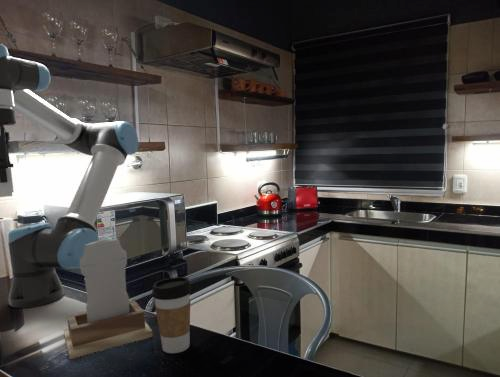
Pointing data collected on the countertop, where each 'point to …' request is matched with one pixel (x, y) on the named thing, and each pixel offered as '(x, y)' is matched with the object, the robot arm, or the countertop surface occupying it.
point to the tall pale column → (105, 279)
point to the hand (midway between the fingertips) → (6, 194)
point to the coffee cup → (173, 313)
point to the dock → (105, 331)
